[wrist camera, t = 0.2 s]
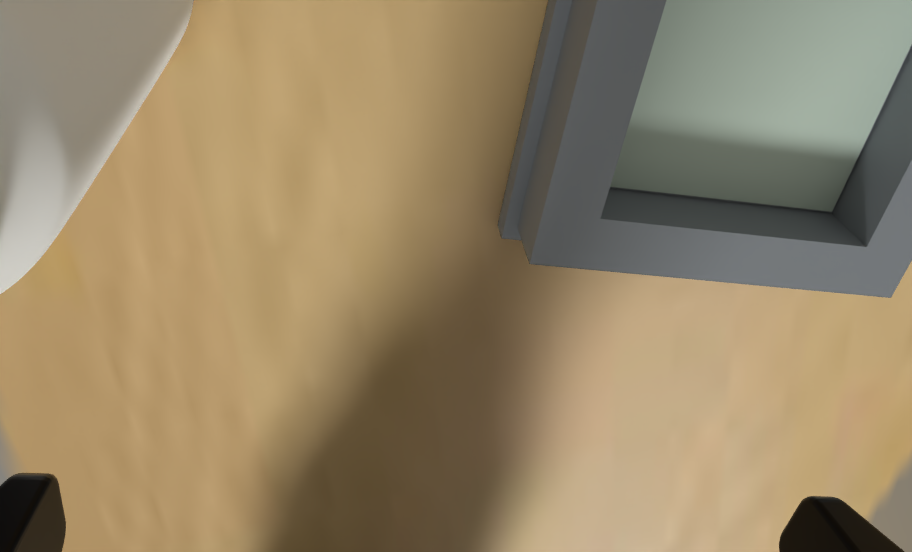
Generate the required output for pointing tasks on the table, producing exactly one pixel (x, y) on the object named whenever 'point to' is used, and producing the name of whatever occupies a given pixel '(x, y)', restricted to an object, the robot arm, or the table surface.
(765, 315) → the table surface
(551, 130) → the holder
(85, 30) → the can
